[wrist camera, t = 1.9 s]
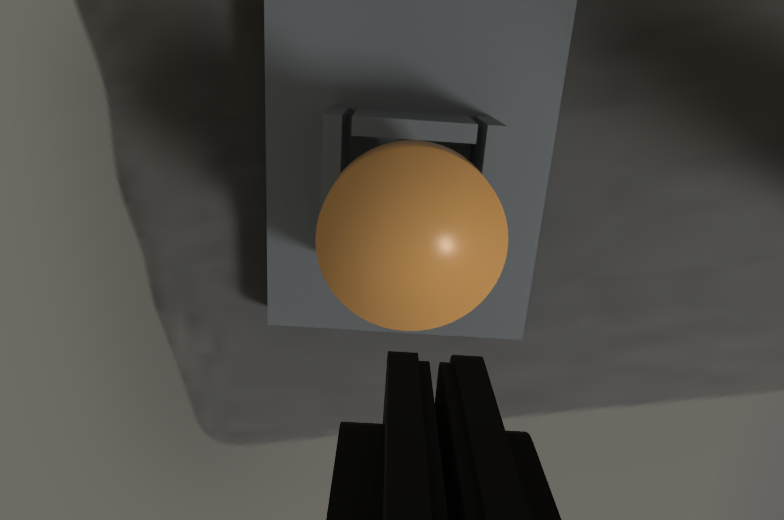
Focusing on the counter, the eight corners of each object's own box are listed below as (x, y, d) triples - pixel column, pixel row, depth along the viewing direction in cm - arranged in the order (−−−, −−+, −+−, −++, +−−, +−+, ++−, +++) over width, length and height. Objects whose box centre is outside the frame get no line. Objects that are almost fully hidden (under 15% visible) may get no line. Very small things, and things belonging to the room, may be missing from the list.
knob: (334, 122, 24) (317, 140, 19) (492, 132, 24) (521, 154, 19) (330, 270, 26) (313, 325, 21) (474, 278, 26) (495, 336, 21)
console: (269, -445, 22) (226, -621, 16) (629, -414, 22) (710, -577, 16) (275, 309, 33) (250, 362, 27) (515, 323, 33) (540, 378, 27)
